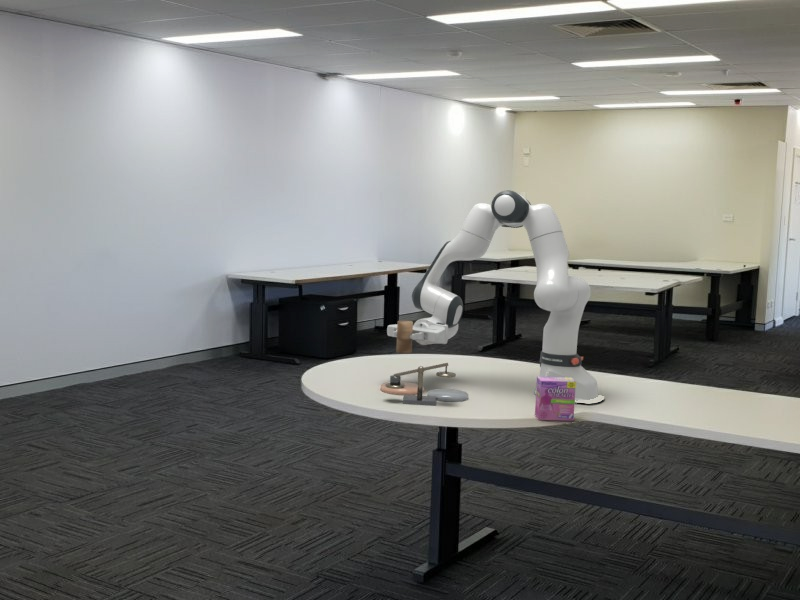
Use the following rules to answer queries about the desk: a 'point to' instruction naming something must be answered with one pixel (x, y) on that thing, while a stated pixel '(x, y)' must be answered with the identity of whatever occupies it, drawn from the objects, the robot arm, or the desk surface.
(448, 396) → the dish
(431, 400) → the balance
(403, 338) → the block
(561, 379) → the box
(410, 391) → the dish
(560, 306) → the robot arm
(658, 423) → the desk surface
